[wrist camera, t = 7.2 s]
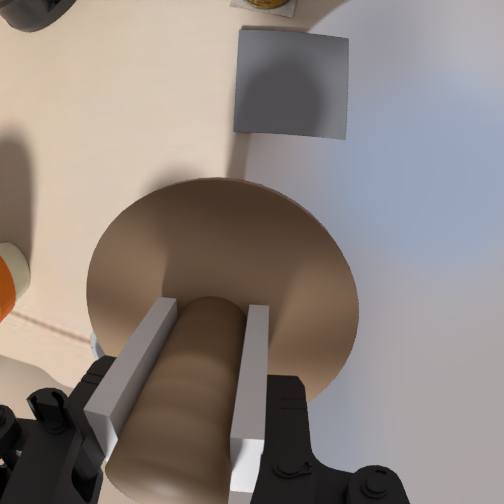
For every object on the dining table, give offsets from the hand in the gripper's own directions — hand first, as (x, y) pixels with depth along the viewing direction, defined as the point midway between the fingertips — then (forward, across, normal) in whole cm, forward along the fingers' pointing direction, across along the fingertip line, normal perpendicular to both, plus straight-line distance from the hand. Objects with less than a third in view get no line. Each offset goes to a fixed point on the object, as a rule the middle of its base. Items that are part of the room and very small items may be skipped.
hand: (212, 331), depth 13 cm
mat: (+25, +4, +15) cm, 29 cm away
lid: (+1, 0, 0) cm, 1 cm away
